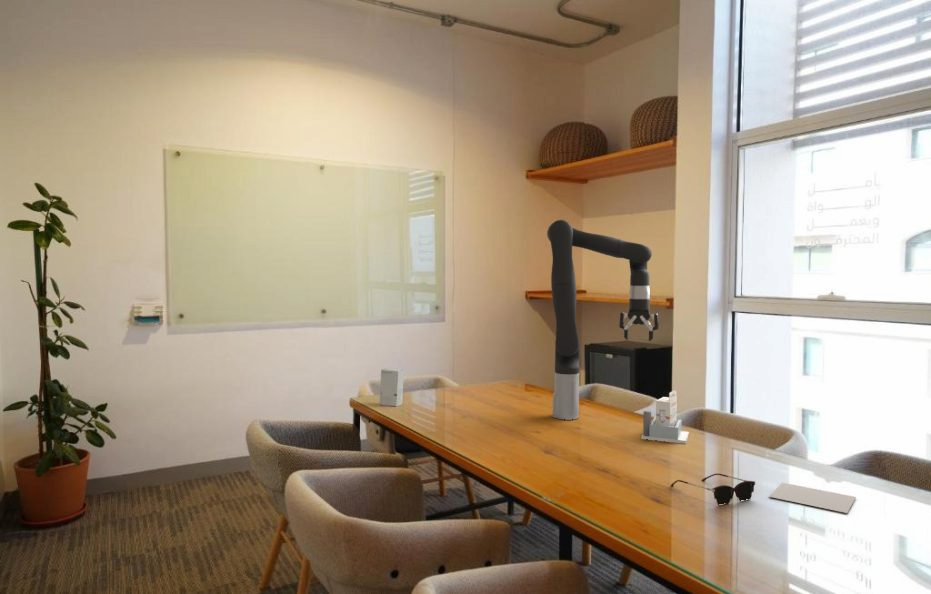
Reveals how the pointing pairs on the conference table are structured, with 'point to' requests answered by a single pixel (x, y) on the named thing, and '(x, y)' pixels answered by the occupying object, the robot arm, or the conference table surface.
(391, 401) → the skincare box
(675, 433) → the keeper cradle
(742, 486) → the sunglasses
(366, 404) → the conference table surface
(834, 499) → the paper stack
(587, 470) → the conference table surface
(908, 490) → the conference table surface
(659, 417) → the ink cartridge box
